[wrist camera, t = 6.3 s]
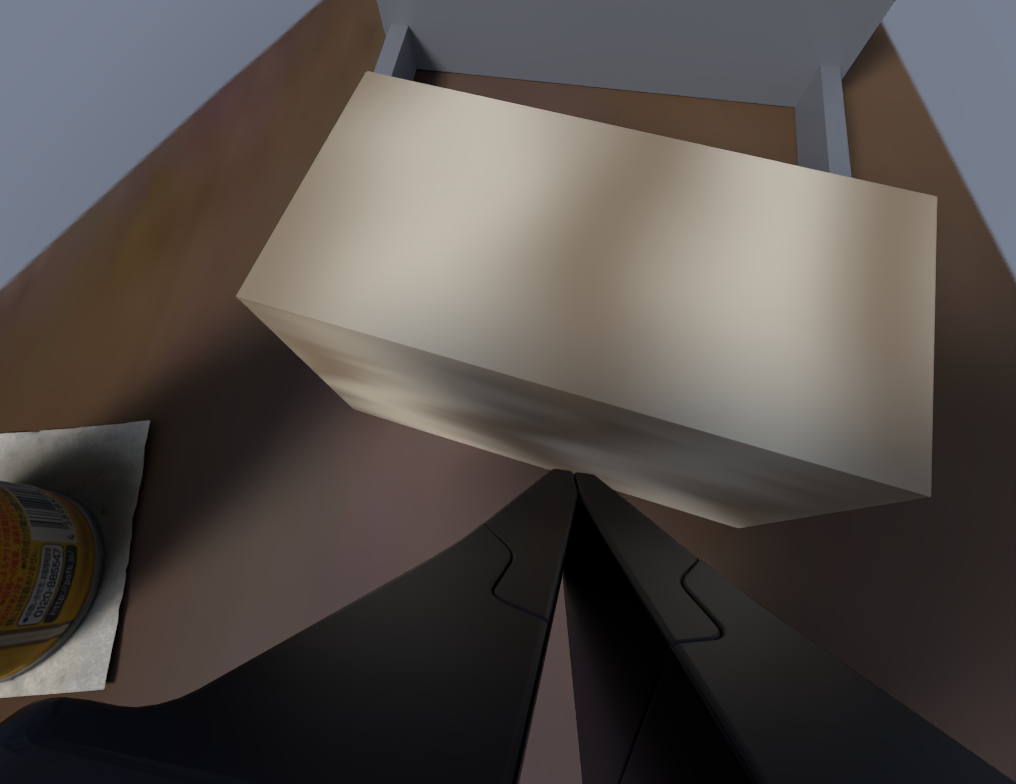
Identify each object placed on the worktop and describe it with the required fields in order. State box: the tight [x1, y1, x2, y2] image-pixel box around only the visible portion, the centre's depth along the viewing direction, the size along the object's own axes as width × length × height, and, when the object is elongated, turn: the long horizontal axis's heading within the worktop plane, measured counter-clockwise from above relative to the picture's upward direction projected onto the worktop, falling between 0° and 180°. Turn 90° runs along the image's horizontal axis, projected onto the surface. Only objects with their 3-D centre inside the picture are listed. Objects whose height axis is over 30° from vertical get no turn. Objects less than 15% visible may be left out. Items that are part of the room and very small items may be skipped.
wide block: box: [236, 71, 937, 528], centre depth 14 cm, size 14×7×8 cm, turn 72°
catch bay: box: [374, 0, 895, 178], centre depth 18 cm, size 11×20×6 cm, turn 81°
